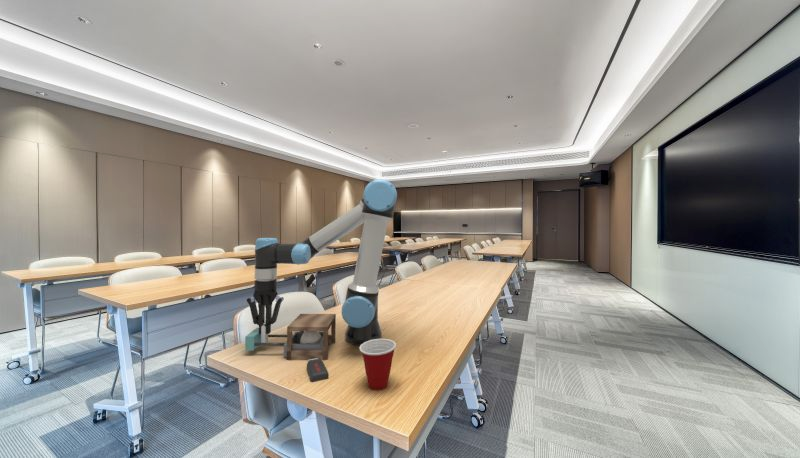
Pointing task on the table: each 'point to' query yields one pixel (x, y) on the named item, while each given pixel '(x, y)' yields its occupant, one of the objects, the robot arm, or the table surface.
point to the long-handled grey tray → (255, 340)
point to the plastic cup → (378, 361)
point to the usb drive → (317, 370)
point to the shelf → (311, 324)
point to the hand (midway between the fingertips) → (264, 342)
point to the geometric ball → (310, 337)
